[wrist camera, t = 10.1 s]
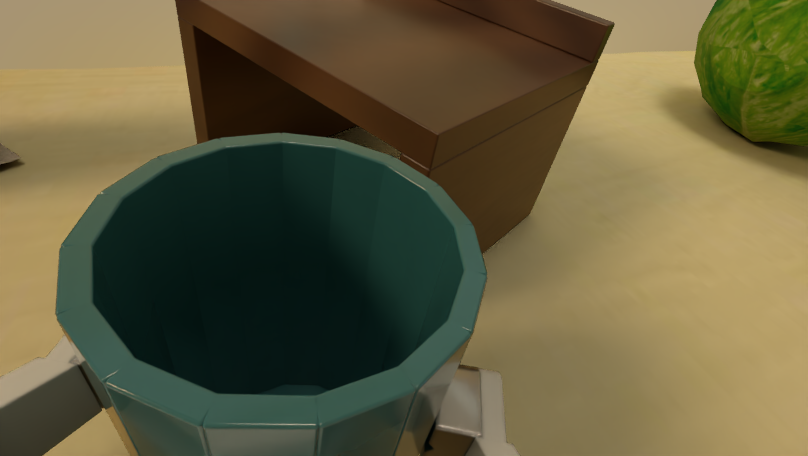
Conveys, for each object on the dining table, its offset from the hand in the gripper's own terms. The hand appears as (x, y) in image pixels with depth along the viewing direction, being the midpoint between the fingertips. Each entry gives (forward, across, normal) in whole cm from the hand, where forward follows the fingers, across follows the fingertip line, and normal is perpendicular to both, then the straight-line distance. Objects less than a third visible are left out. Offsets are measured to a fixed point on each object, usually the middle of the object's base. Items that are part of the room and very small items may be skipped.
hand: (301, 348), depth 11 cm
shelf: (+14, 0, +6) cm, 15 cm away
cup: (-1, 0, +6) cm, 6 cm away
